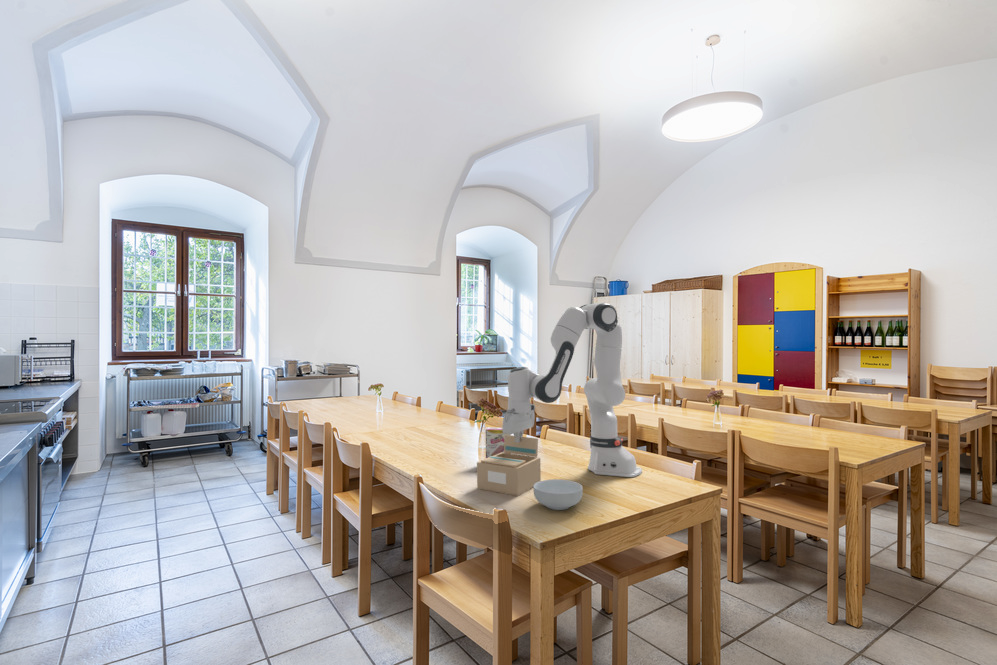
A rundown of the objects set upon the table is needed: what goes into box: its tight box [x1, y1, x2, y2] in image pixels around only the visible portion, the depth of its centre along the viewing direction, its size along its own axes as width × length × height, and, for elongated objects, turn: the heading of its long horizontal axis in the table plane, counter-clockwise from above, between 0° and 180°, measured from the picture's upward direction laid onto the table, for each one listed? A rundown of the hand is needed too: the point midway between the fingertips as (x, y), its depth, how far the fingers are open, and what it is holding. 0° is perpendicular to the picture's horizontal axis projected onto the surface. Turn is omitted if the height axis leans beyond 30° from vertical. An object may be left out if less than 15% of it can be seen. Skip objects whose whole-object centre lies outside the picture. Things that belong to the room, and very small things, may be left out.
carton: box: [476, 452, 542, 497], centre depth 195 cm, size 18×18×10 cm
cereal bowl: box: [532, 478, 584, 511], centre depth 172 cm, size 17×17×7 cm
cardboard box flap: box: [504, 434, 539, 457], centre depth 203 cm, size 15×7×1 cm
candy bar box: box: [485, 427, 512, 459], centre depth 226 cm, size 11×5×16 cm, turn 84°
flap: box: [480, 456, 526, 467], centre depth 191 cm, size 15×8×1 cm, turn 58°
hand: (518, 441), depth 202 cm, fingers closed
